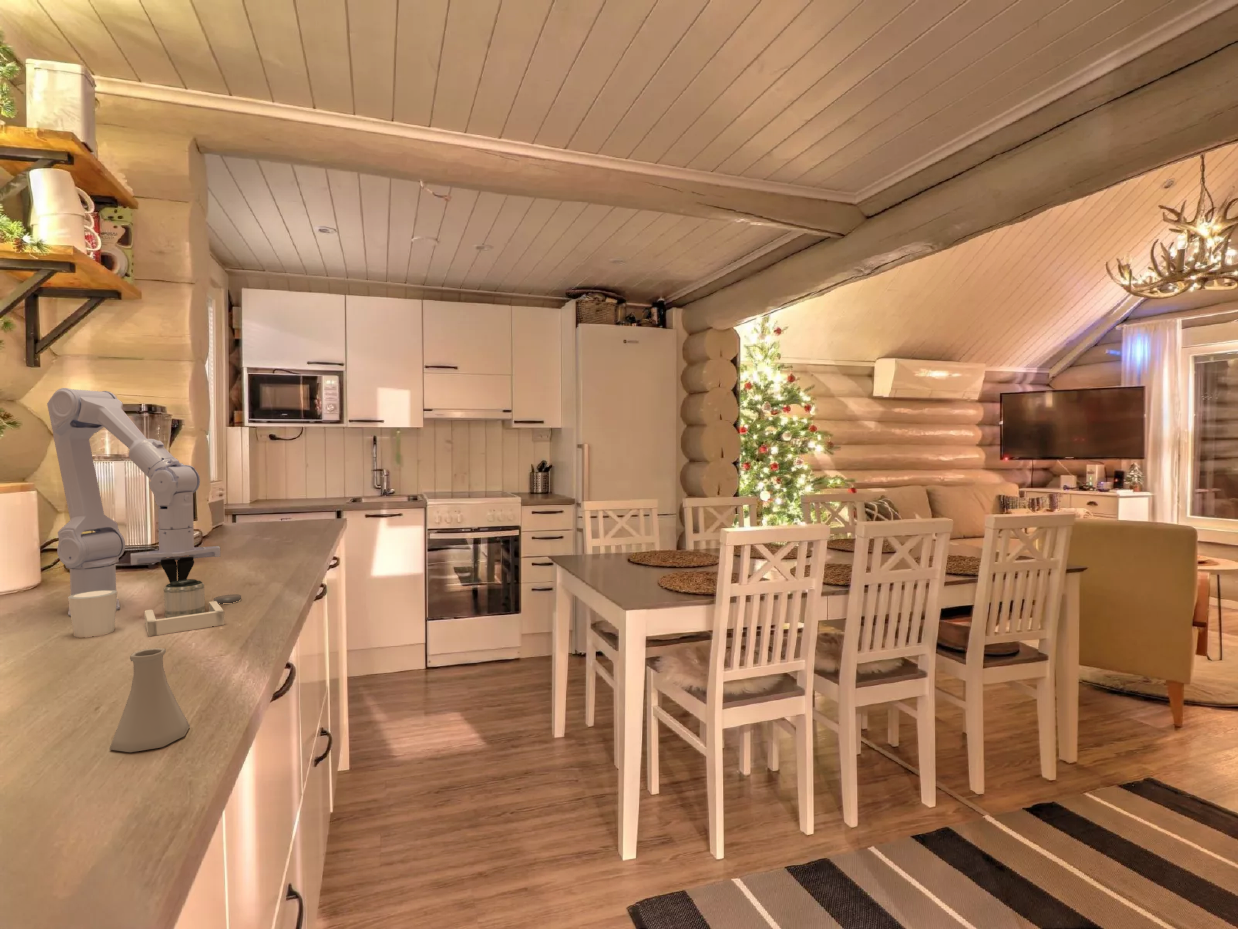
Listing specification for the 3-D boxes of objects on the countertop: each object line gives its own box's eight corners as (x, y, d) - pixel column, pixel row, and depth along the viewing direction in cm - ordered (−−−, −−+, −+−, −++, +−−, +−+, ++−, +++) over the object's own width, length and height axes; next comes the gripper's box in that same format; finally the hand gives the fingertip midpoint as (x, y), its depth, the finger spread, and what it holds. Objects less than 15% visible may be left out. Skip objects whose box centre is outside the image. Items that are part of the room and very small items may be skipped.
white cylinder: (91, 639, 113) (89, 598, 113) (58, 637, 115) (57, 597, 114) (128, 628, 120) (127, 589, 120) (97, 626, 121) (95, 588, 121)
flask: (138, 727, 78) (135, 643, 78) (202, 724, 79) (199, 641, 78) (94, 756, 71) (90, 664, 71) (165, 753, 72) (162, 661, 71)
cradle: (144, 624, 123) (144, 610, 123) (216, 613, 130) (216, 600, 130) (148, 636, 115) (147, 622, 115) (224, 624, 122) (224, 611, 122)
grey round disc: (214, 602, 141) (214, 596, 140) (241, 598, 143) (241, 593, 143) (213, 607, 136) (213, 601, 136) (241, 603, 139) (241, 597, 139)
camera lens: (213, 620, 125) (212, 578, 125) (181, 629, 119) (180, 585, 119) (188, 617, 127) (187, 576, 127) (156, 626, 121) (155, 583, 121)
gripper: (131, 533, 122) (132, 606, 122) (222, 527, 131) (223, 595, 131) (129, 529, 127) (131, 599, 128) (217, 523, 136) (218, 588, 137)
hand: (177, 596), depth 130 cm, fingers closed
